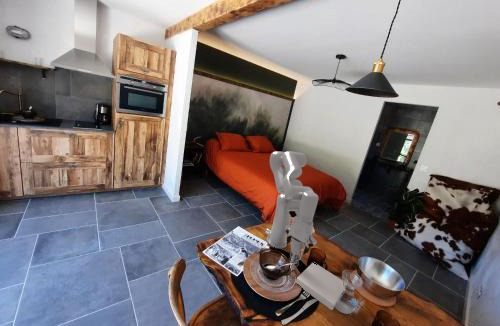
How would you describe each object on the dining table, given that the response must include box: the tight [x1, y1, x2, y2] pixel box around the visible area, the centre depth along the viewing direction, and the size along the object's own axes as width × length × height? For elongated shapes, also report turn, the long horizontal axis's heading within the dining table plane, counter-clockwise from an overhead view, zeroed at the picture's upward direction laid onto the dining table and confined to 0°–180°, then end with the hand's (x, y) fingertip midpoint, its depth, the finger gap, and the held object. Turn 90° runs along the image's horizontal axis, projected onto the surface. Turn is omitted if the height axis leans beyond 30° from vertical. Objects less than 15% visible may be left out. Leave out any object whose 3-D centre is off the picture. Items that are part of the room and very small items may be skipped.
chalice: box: [290, 237, 305, 270], centre depth 110 cm, size 7×7×18 cm
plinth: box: [295, 262, 346, 311], centre depth 103 cm, size 18×18×3 cm
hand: (296, 247), depth 108 cm, fingers open, 9 cm apart
